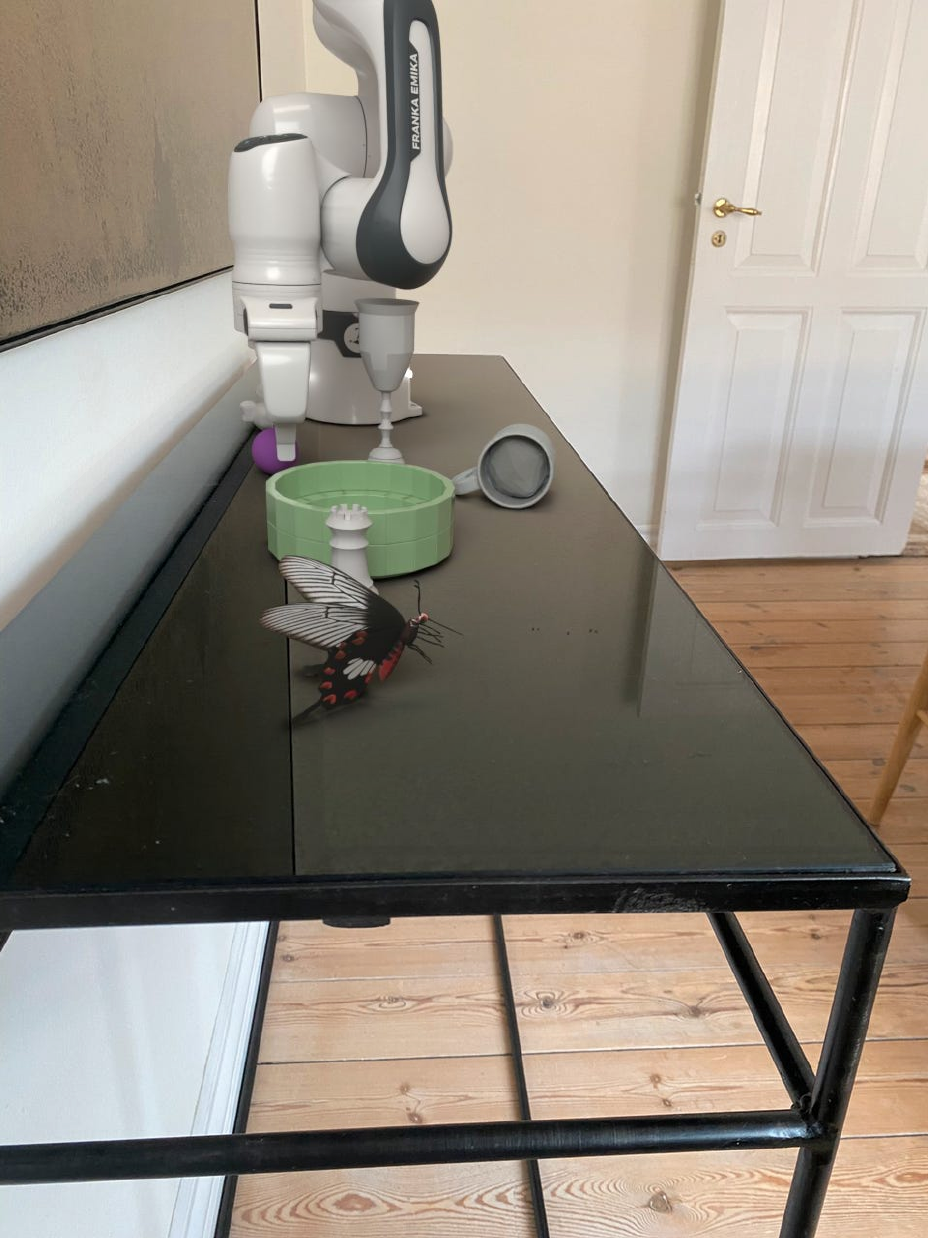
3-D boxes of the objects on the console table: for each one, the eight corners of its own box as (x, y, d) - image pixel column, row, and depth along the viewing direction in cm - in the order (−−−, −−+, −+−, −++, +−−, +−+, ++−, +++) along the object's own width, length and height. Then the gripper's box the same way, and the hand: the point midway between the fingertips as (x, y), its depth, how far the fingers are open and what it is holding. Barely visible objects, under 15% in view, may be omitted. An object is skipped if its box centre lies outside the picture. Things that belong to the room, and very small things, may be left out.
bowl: (268, 524, 86) (266, 460, 83) (436, 521, 88) (438, 459, 86) (268, 589, 72) (265, 514, 69) (467, 582, 75) (470, 511, 72)
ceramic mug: (554, 489, 100) (558, 417, 97) (551, 511, 92) (556, 434, 89) (456, 483, 101) (458, 412, 98) (445, 505, 94) (446, 429, 90)
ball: (253, 468, 103) (250, 422, 101) (299, 467, 104) (297, 423, 102) (252, 480, 98) (250, 433, 96) (300, 480, 99) (299, 433, 97)
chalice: (406, 481, 100) (409, 306, 93) (346, 475, 101) (344, 302, 94) (422, 465, 107) (427, 300, 99) (366, 459, 108) (365, 296, 101)
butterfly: (311, 777, 56) (187, 667, 52) (355, 685, 62) (247, 582, 59) (441, 712, 50) (311, 583, 47) (475, 618, 56) (363, 498, 53)
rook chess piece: (354, 632, 65) (354, 523, 62) (306, 616, 67) (302, 510, 64) (392, 611, 69) (393, 507, 65) (344, 597, 71) (343, 495, 68)
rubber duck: (294, 436, 117) (292, 371, 114) (240, 436, 116) (236, 370, 112) (293, 426, 122) (290, 364, 118) (241, 426, 120) (237, 363, 117)
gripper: (244, 303, 102) (251, 428, 108) (248, 323, 84) (256, 473, 89) (302, 304, 104) (306, 428, 109) (318, 324, 85) (322, 471, 91)
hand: (283, 448), depth 99 cm, fingers open, 8 cm apart
